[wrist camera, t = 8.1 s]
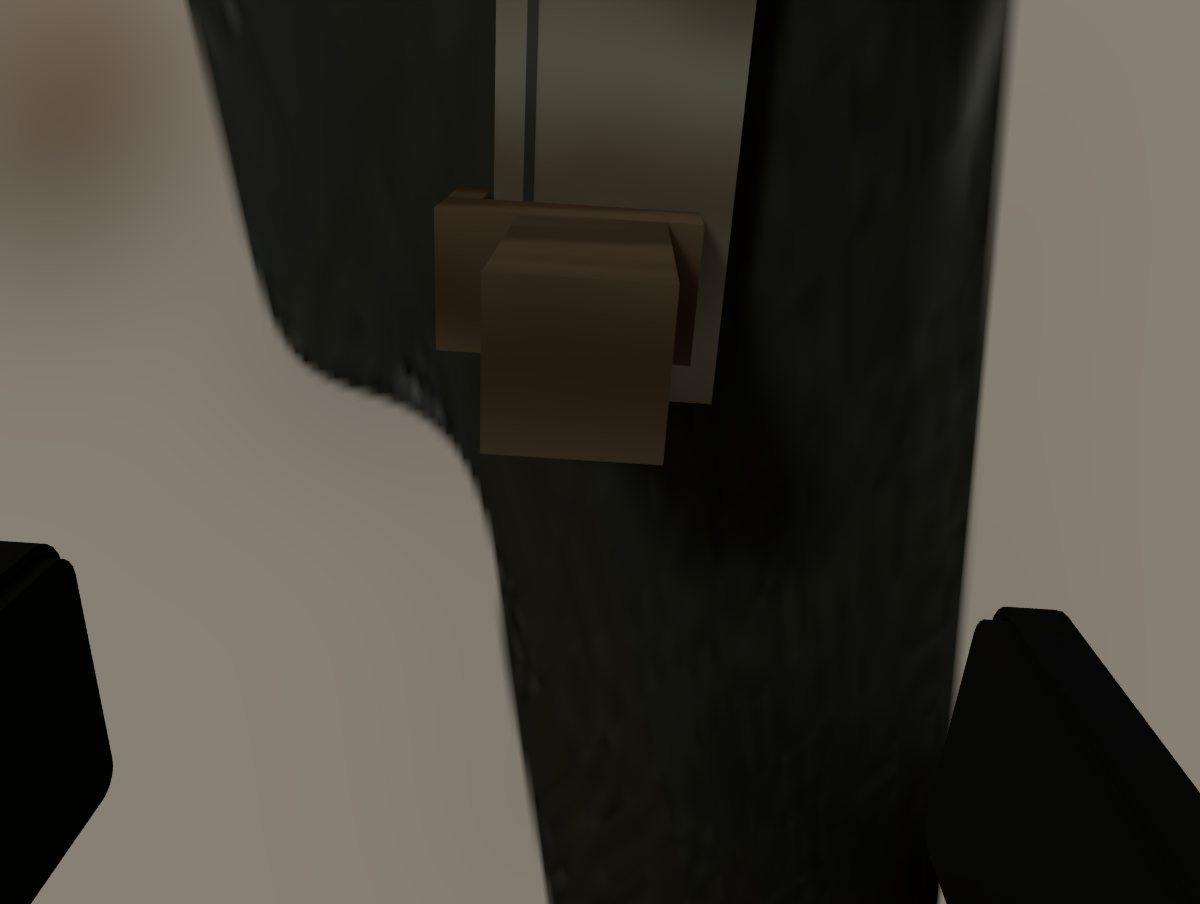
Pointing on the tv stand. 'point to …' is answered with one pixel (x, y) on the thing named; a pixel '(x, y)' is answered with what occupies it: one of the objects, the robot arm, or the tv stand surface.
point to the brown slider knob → (568, 320)
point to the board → (629, 122)
